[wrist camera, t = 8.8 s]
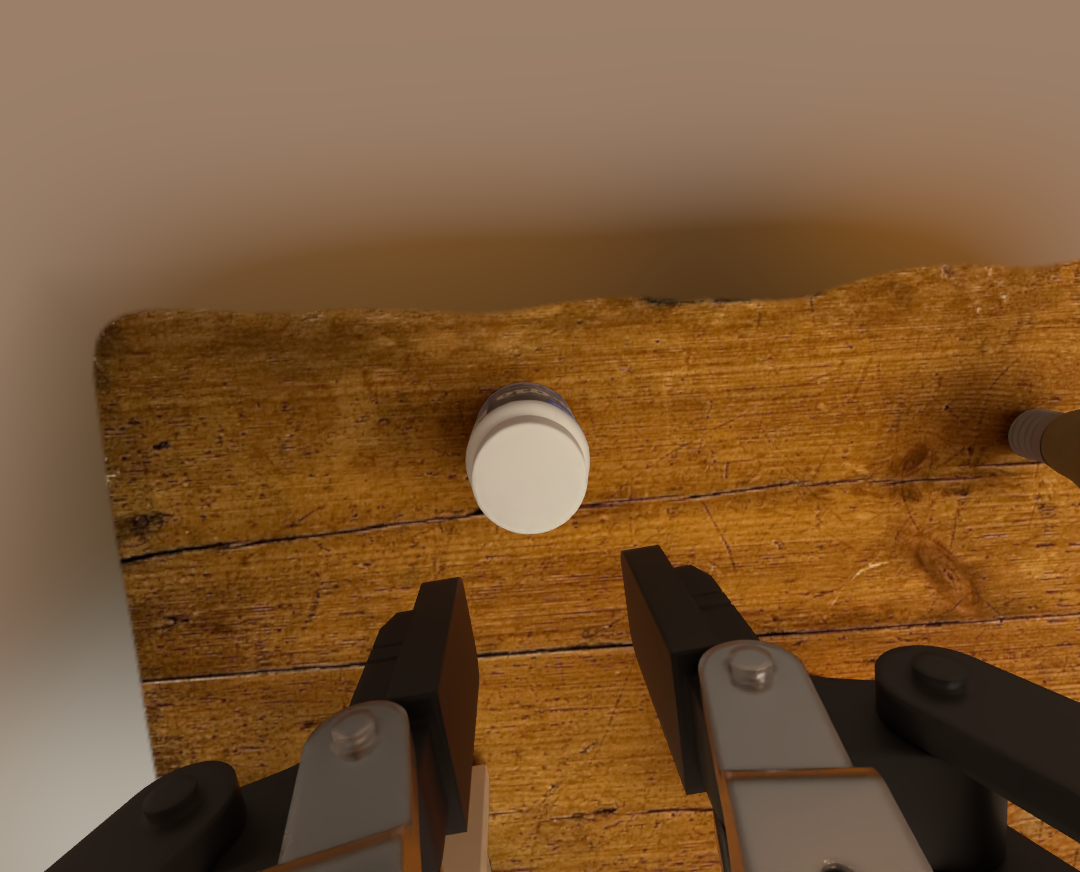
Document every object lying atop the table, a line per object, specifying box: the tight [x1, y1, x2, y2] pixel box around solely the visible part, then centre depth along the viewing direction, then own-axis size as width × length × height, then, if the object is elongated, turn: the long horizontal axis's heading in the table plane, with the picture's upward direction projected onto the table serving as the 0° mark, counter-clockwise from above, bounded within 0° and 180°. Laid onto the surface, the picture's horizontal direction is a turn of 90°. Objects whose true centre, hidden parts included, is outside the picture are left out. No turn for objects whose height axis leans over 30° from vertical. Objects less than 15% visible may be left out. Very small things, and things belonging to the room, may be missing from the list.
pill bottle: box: [465, 382, 590, 534], centre depth 24 cm, size 5×5×8 cm
